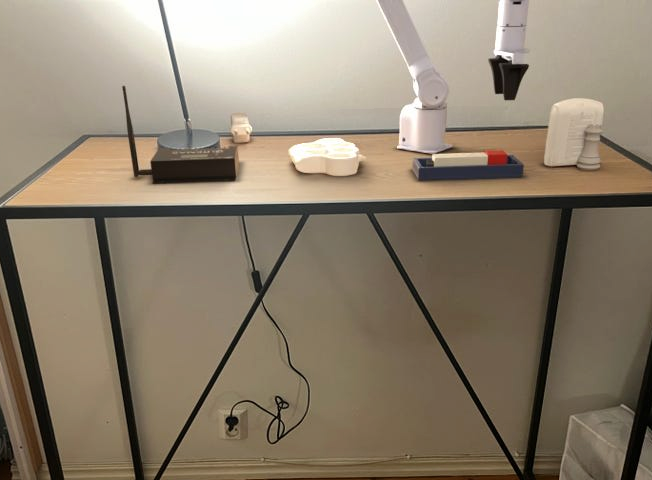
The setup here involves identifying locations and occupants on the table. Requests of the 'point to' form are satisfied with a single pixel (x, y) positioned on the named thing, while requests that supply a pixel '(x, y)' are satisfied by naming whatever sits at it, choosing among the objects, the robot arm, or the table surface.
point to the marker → (468, 159)
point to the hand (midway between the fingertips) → (504, 96)
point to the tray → (467, 170)
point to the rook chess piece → (591, 149)
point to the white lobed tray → (326, 157)
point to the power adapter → (240, 127)
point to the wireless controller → (185, 161)
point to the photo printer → (570, 129)
